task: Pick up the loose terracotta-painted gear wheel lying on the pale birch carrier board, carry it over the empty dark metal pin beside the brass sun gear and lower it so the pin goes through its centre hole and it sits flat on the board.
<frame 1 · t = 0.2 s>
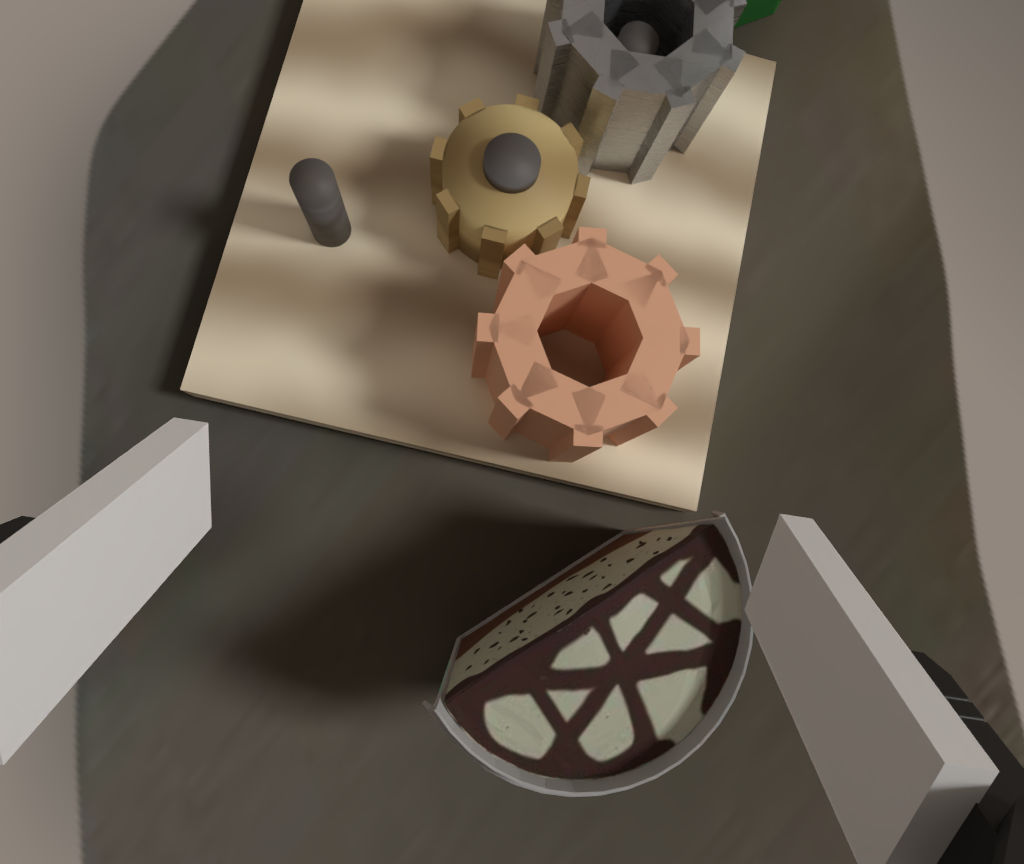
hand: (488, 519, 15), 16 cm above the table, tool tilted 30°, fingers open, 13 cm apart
carrier: (500, 226, 33), on the table
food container: (575, 639, 31), on the table
seated gear: (613, 105, 33), resting on carrier
planet gear: (563, 371, 31), point 1 cm above the table, touching carrier
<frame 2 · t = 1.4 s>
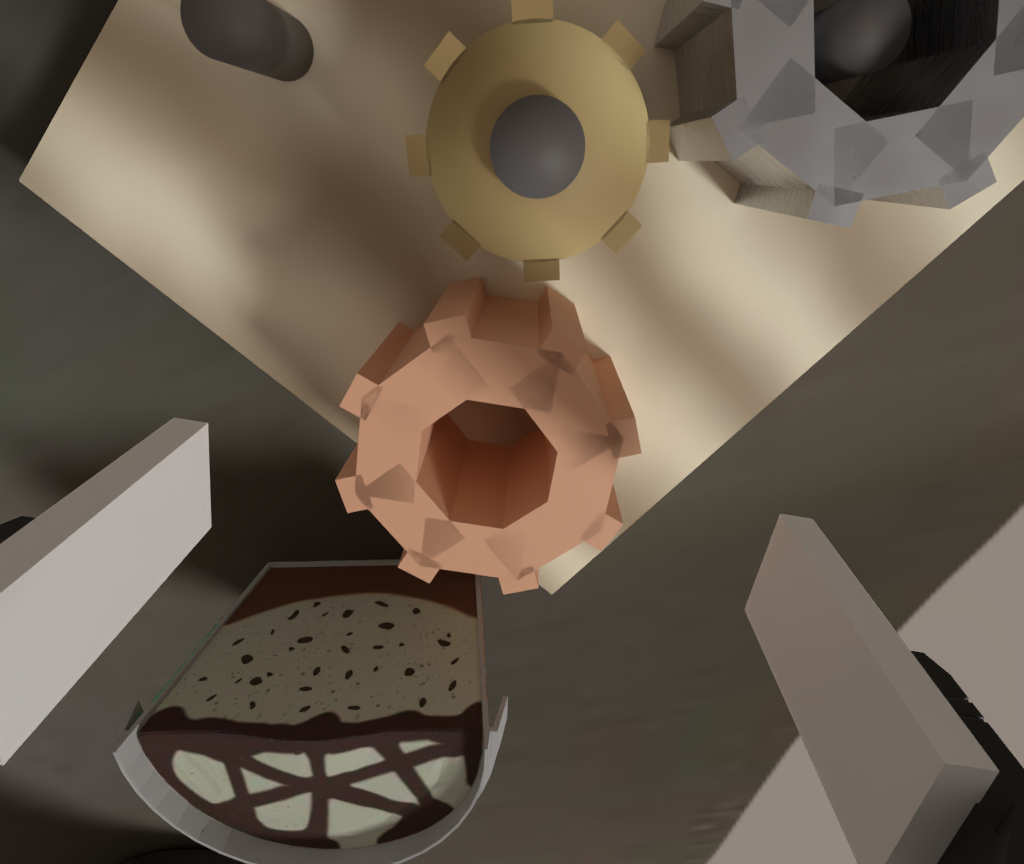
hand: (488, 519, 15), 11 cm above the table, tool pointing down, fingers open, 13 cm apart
carrier: (535, 151, 22), on the table
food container: (382, 614, 30), on the table
seated gear: (798, 57, 19), resting on carrier
planet gear: (496, 395, 24), point 1 cm above the table, touching carrier
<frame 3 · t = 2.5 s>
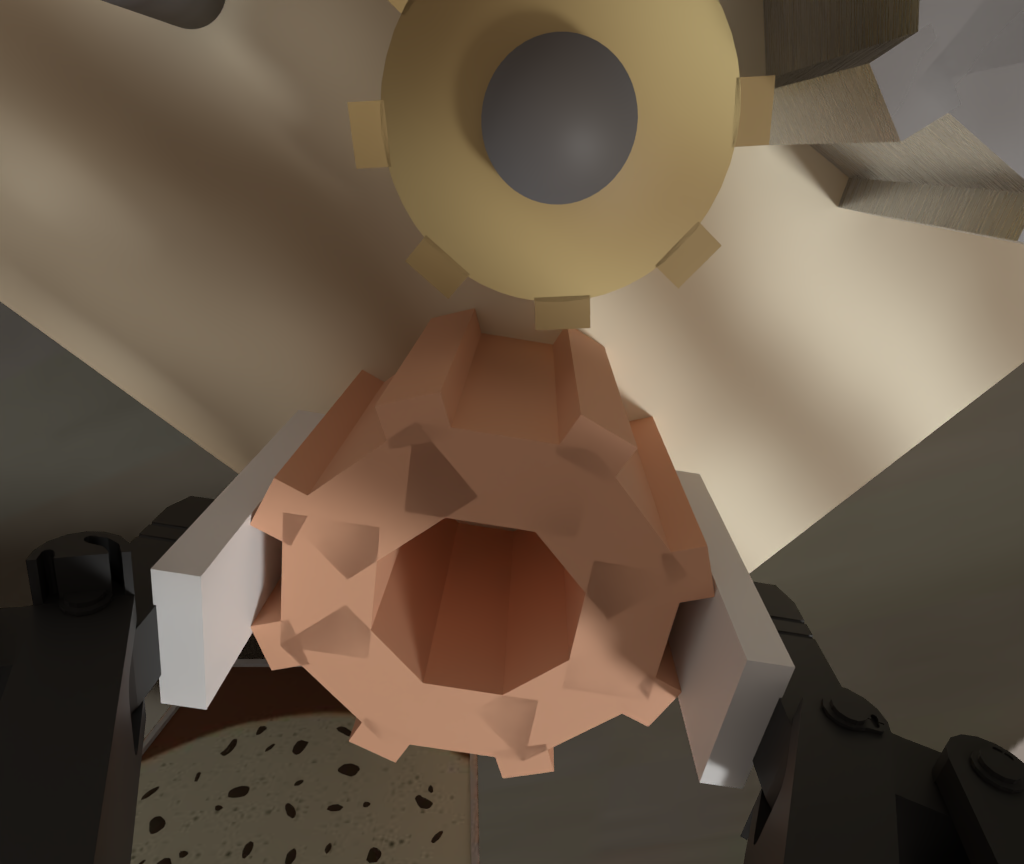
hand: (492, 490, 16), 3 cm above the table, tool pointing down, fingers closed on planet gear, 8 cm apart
carrier: (552, 132, 16), on the table
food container: (353, 720, 24), on the table
planet gear: (495, 467, 18), point 2 cm above the table, touching carrier, gripper
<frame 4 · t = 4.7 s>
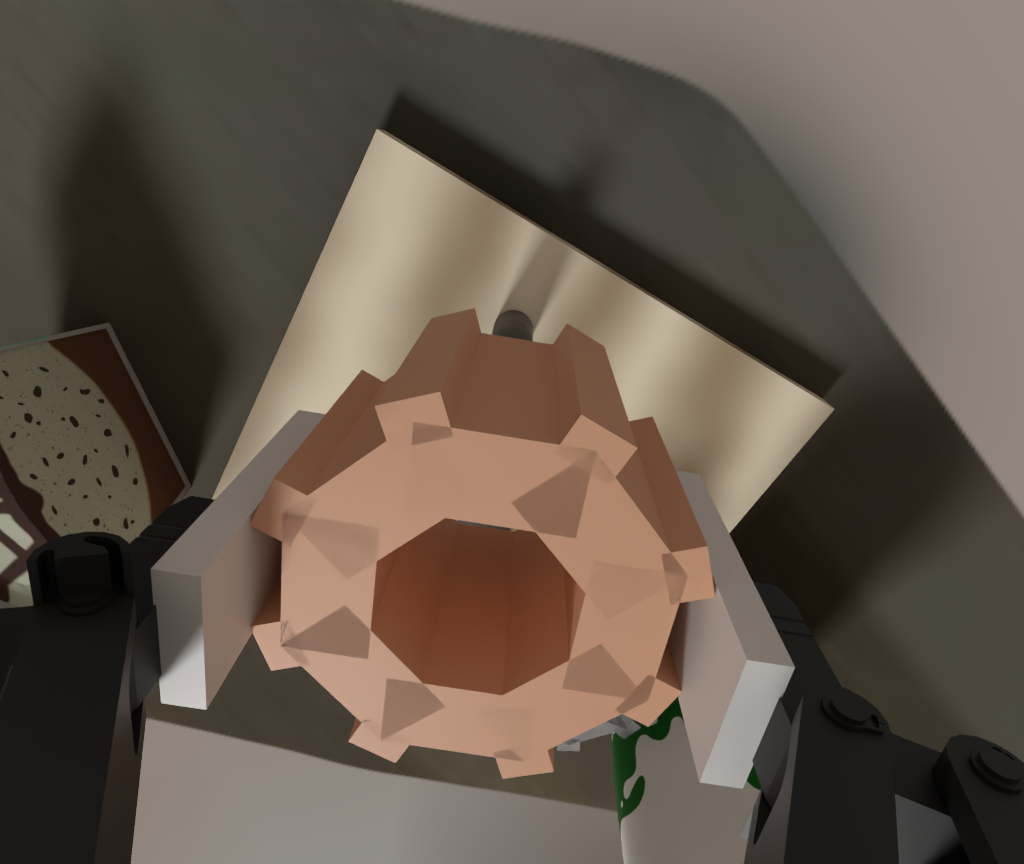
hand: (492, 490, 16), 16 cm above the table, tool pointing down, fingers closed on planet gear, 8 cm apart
carrier: (491, 472, 34), on the table
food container: (102, 420, 34), on the table
seated gear: (565, 601, 36), resting on carrier
planet gear: (495, 467, 18), point 15 cm above the table, touching gripper
milk carton: (676, 685, 40), on the table
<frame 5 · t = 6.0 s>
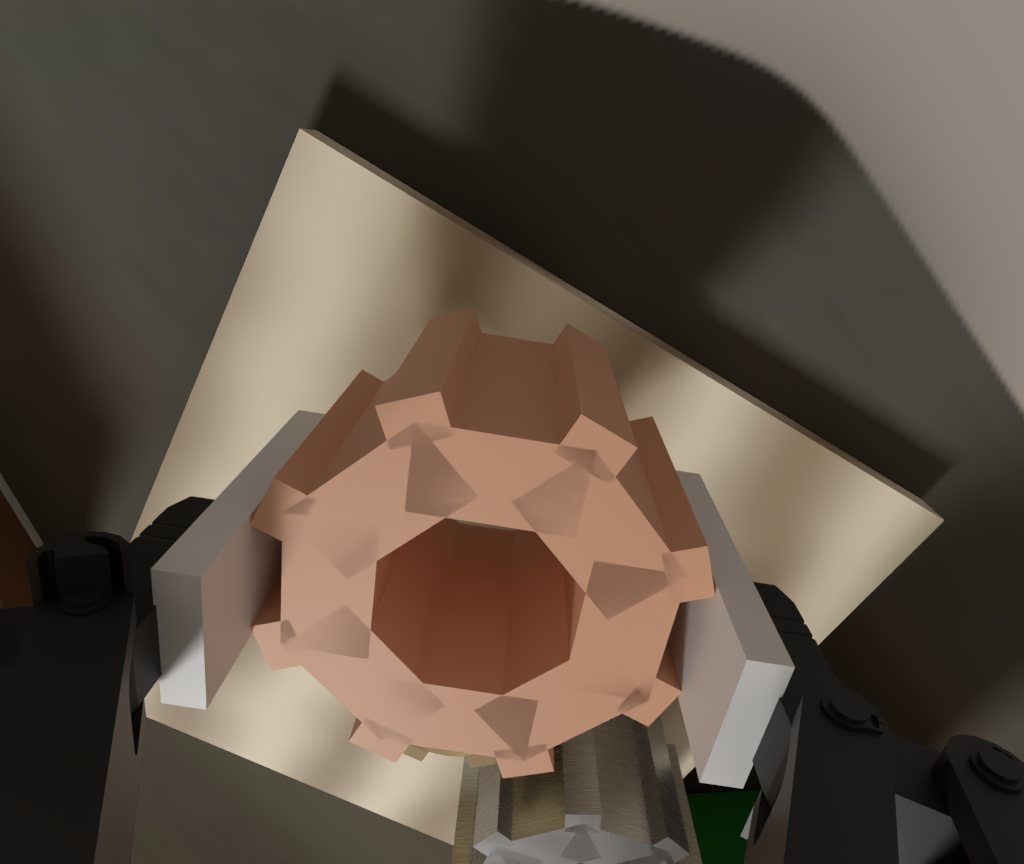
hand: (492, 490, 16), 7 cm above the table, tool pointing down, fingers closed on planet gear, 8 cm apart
carrier: (472, 585, 26), on the table
seated gear: (569, 750, 27), resting on carrier
planet gear: (495, 467, 18), point 6 cm above the table, touching gripper
milk carton: (708, 837, 32), on the table
when the fingers open (4 cm above the table, at t = 6.9 s): planet gear drops 1 cm, resting on carrier.
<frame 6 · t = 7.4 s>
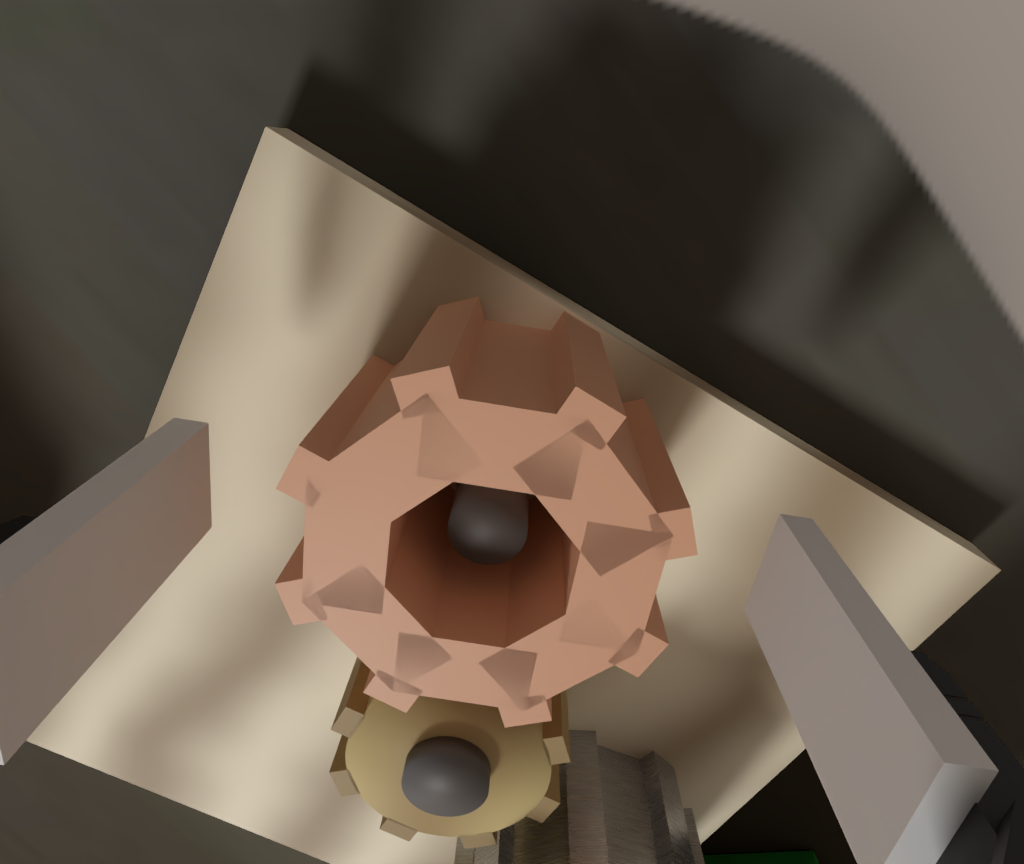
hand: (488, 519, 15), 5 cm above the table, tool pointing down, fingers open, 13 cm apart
carrier: (467, 634, 23), on the table
seated gear: (575, 814, 25), resting on carrier
planet gear: (498, 446, 19), point 1 cm above the table, touching carrier
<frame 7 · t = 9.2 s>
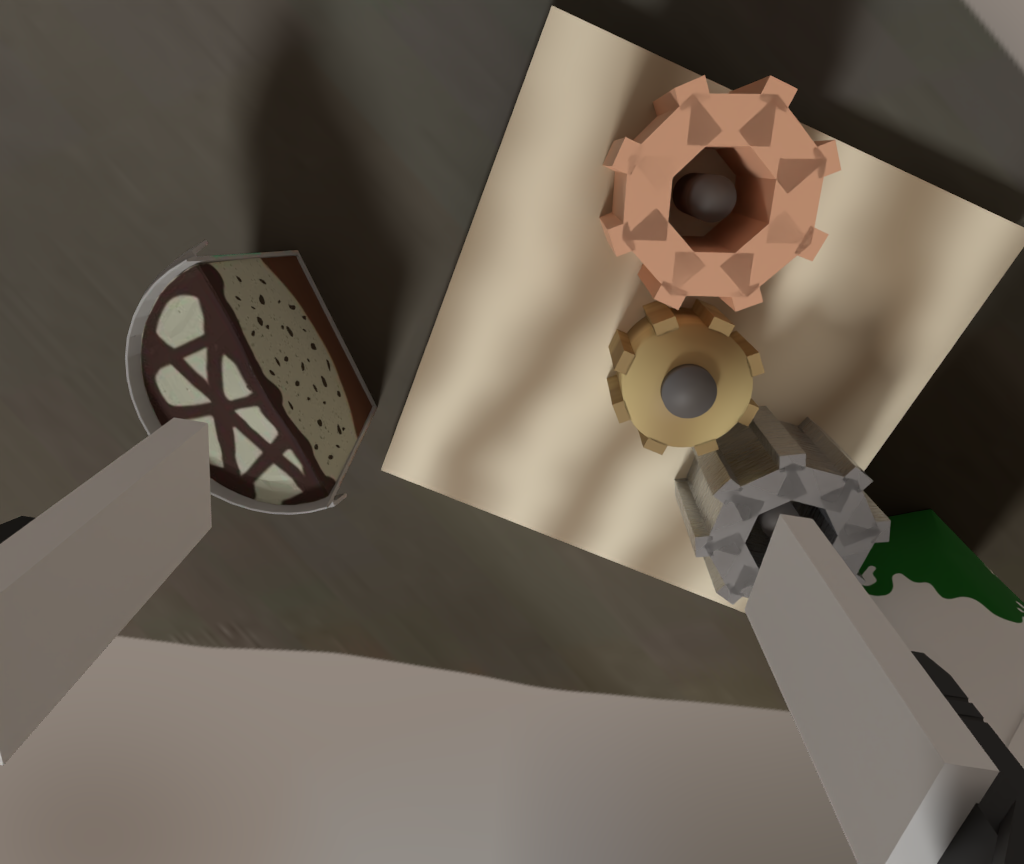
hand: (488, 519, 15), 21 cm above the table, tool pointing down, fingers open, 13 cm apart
carrier: (668, 355, 35), on the table
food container: (292, 350, 36), on the table
seated gear: (755, 480, 35), resting on carrier
planet gear: (691, 193, 30), point 1 cm above the table, touching carrier
milk carton: (869, 567, 39), on the table
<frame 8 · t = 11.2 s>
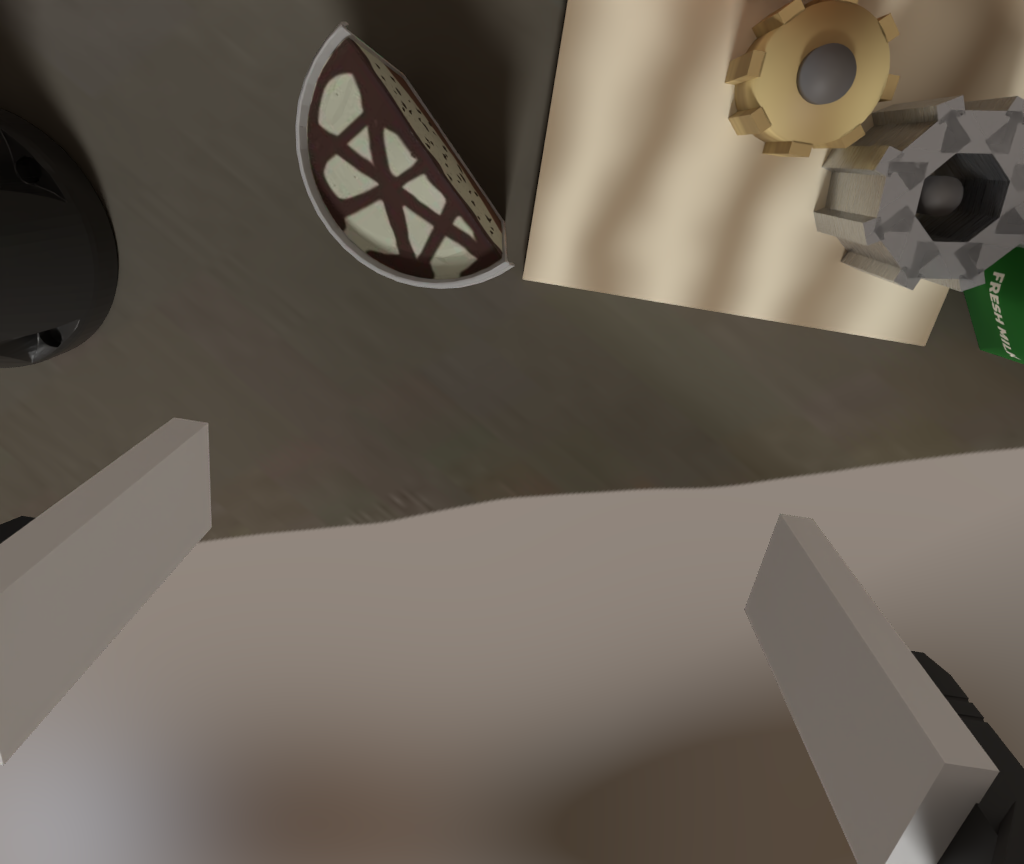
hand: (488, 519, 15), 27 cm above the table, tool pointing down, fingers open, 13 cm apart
carrier: (782, 86, 35), on the table
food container: (414, 184, 38), on the table
seated gear: (895, 191, 35), resting on carrier
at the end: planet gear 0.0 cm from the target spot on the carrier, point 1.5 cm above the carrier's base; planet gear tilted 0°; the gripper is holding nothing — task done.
